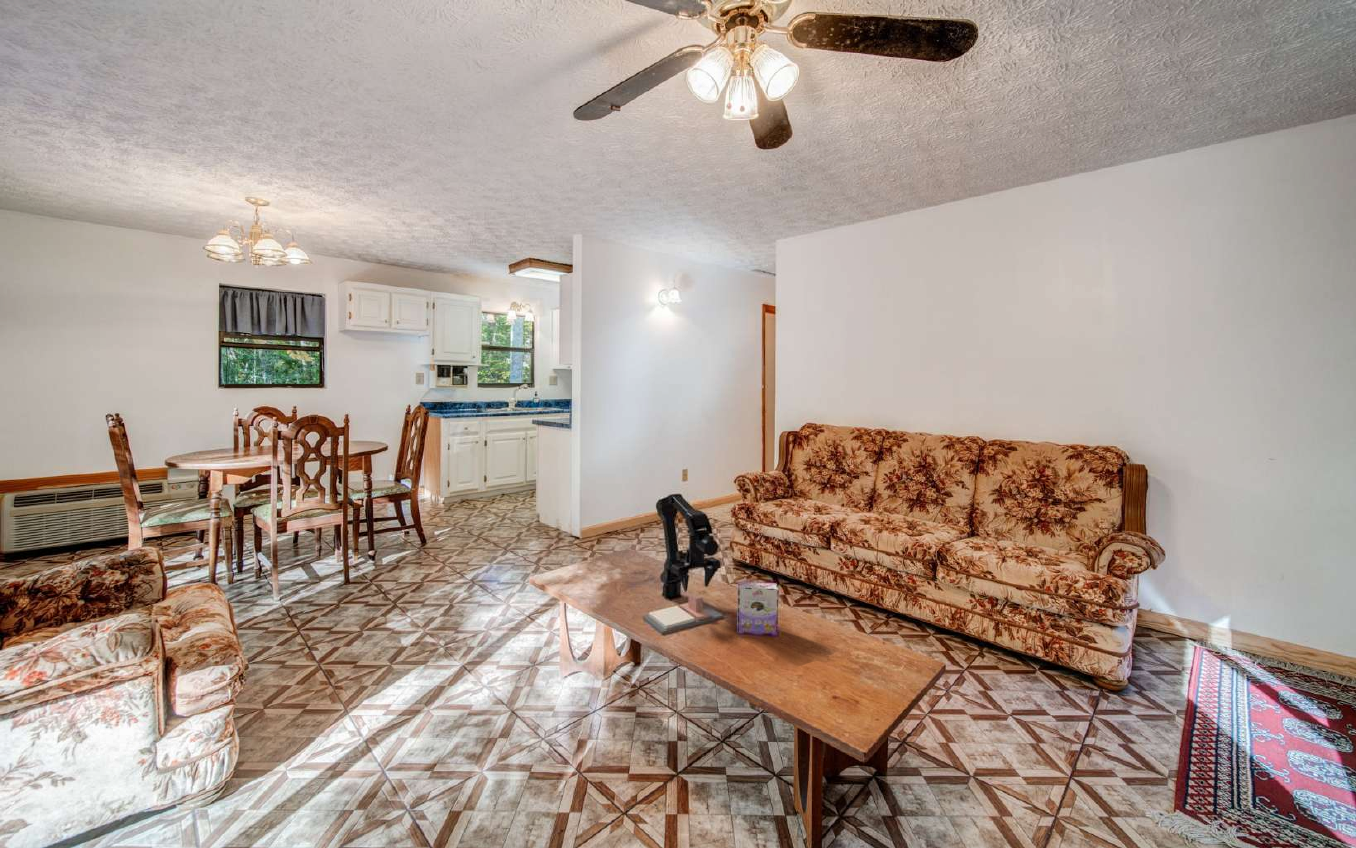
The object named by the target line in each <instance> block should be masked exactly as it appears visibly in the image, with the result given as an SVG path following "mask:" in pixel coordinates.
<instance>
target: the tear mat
mask: <svg viewBox="0 0 1356 848" xmlns="http://www.w3.org/2000/svg"><path fill="white" fill-rule="evenodd" d="M678 607H679V608H680V606H678ZM703 609H704V610H706V611H707V612H709V613H710V614H711V617H708V618H704V619H701V620H696V619H695V621H694V622H690V623H687V624H683V625H679V626H676V627H672V628H668V629H665V628H663V627H662V626H661V625H660V624H658V623H657V622H656V621H655V620H653V619H652V618H651V617H649V614H646V615H642V617H641V618H642V620H643V621H645V622H646V623H647V624H648V625H650V626H651V627H652V628H654V629H655V630H656V632H658V633H659V634H661V635H666V634H669V633H673V632H676V631H680V630H684V629H688V628H691V627H695V626H698V625H702V624H705V623H709V622H713V621H716V620H720V619H723V618H724V615H723V614H722V613H721V612H719V611H717V609H715V608H713V607H711V606H710V605H708V604H706V603H705V602H703Z"/></svg>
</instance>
